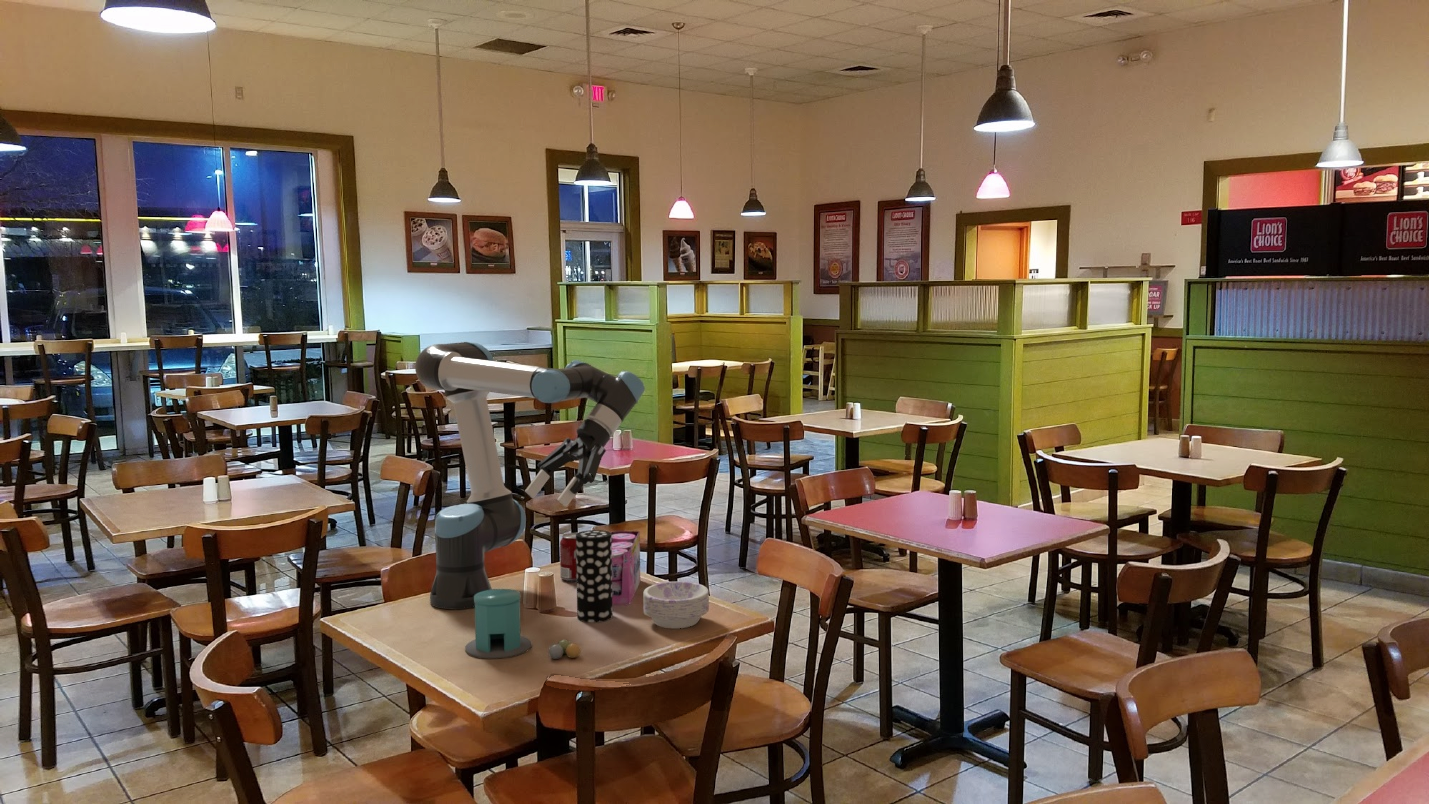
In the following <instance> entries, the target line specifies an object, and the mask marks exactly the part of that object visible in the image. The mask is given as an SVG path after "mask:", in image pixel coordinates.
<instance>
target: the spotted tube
mask: <svg viewBox="0 0 1429 804" xmlns="http://www.w3.org/2000/svg"><path fill="white" fill-rule="evenodd" d="M611 532H612V531H608V530H601V529H591V530H582V531H579V532H576V533H577V534H576V574H577V581H576V617H577V620H579V621H580V622H585V623H601V622H606V621H609V620H611V619H612V618H613V614H614V613H613V605H612V537H611Z"/></svg>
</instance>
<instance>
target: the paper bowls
mask: <svg viewBox="0 0 1429 804" xmlns="http://www.w3.org/2000/svg"><path fill="white" fill-rule="evenodd" d="M709 594H710V592H709V589H708V587H707V586H705V585H703V584H700V583H698V582H691V581H666V582H665V581H664V582H659V583H658V582H657V583H654V584H652V585H649V586H648V587H646V588H645V589H644V590H643V597H642V599H643V614H644V615H645V616H646V617H650V618H652V619H651V620H652V621H653V623H654V624H655V625H657V626H658V627H660V628H662V629H663V628H664V629H669V630H679V629H680V628H681V629H687V628H690V626H691V627H692V626H695V625H697V623H698V622H699V621H700V619H701V617H702V616H704V615H706V614H707V613H708V612H709V610H710V596H709Z"/></svg>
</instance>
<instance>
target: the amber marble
mask: <svg viewBox="0 0 1429 804" xmlns="http://www.w3.org/2000/svg"><path fill="white" fill-rule="evenodd" d="M580 653H581V648H580V645H578V644H577V643H571V644H570V645H568V646H567V648H566V654H565V655H566V656H567V657H568V658H571V659H576V658H578V657H579V656H580Z"/></svg>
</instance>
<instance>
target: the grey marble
mask: <svg viewBox="0 0 1429 804" xmlns="http://www.w3.org/2000/svg"><path fill="white" fill-rule="evenodd" d="M548 655H549V657H550V658H551V659H553V660H559V659H560V658H562V656H563V655H564V654H563V649H562V647H561V646H560V645H558V643H557V644H555V643H554V644H553V645H551V646H550V647H549V649H548Z"/></svg>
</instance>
